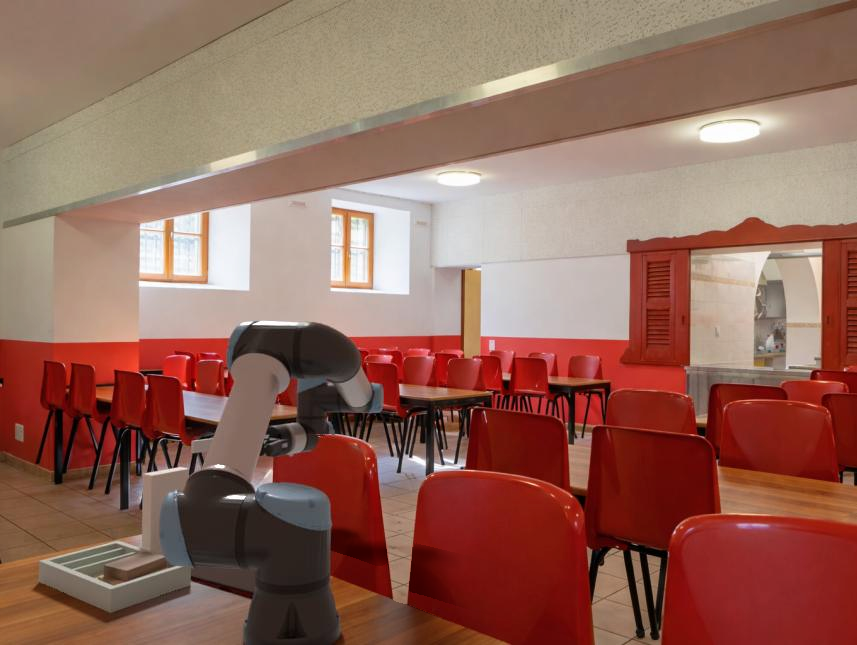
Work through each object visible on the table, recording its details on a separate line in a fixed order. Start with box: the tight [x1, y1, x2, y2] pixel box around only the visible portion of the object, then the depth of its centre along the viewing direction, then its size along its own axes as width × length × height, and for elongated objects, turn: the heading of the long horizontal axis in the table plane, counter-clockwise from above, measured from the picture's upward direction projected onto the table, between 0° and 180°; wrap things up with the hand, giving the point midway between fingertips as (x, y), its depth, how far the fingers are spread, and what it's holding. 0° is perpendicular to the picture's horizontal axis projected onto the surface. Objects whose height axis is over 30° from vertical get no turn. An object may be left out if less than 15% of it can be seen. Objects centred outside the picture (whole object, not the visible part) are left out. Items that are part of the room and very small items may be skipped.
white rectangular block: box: [141, 466, 190, 555], centre depth 150 cm, size 3×9×18 cm, turn 145°
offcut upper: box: [104, 551, 167, 582], centre depth 131 cm, size 6×9×2 cm, turn 153°
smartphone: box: [191, 568, 255, 598], centre depth 139 cm, size 12×2×25 cm
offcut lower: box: [98, 568, 168, 586], centre depth 131 cm, size 7×10×2 cm
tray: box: [38, 540, 192, 614], centre depth 134 cm, size 24×16×4 cm, turn 55°
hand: (211, 450), depth 157 cm, fingers open, 13 cm apart
